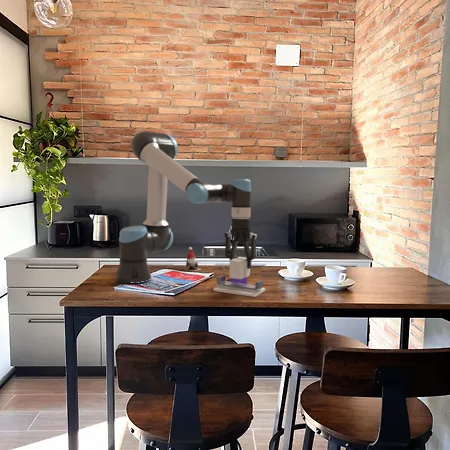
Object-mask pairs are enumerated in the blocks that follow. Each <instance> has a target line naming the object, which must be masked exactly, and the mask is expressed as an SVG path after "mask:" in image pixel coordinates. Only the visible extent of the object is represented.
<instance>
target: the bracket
mask: <svg viewBox="0 0 450 450" xmlns="http://www.w3.org/2000/svg"><path fill="white" fill-rule="evenodd" d="M229 281H231V282H238V283H246V284H248V277H245V278H243V279H235V278H230V277H229Z"/></svg>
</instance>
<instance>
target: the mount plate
mask: <svg viewBox="0 0 450 450" xmlns="http://www.w3.org/2000/svg"><path fill="white" fill-rule="evenodd" d="M265 291H266V287H262V290H260V291H258V292H257V293H254V292H247V291H240V290H233V289H226V288H219V287H218V286H216V287H214V288H213V292H219V293H227V294H233V295H237V296H238V295H239V296H247V297H252V298H255V297H258V296H259V295H261V294H262V293H264V292H265Z"/></svg>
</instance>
